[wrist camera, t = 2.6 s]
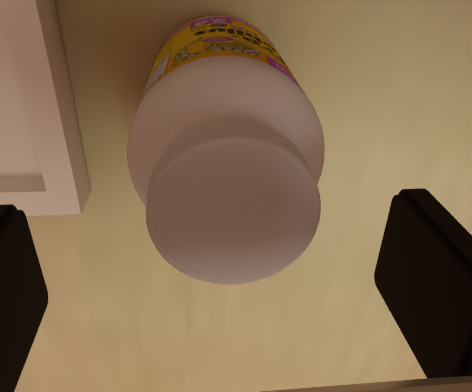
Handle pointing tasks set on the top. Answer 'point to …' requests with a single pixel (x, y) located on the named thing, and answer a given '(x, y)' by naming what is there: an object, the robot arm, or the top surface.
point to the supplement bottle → (226, 154)
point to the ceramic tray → (38, 115)
